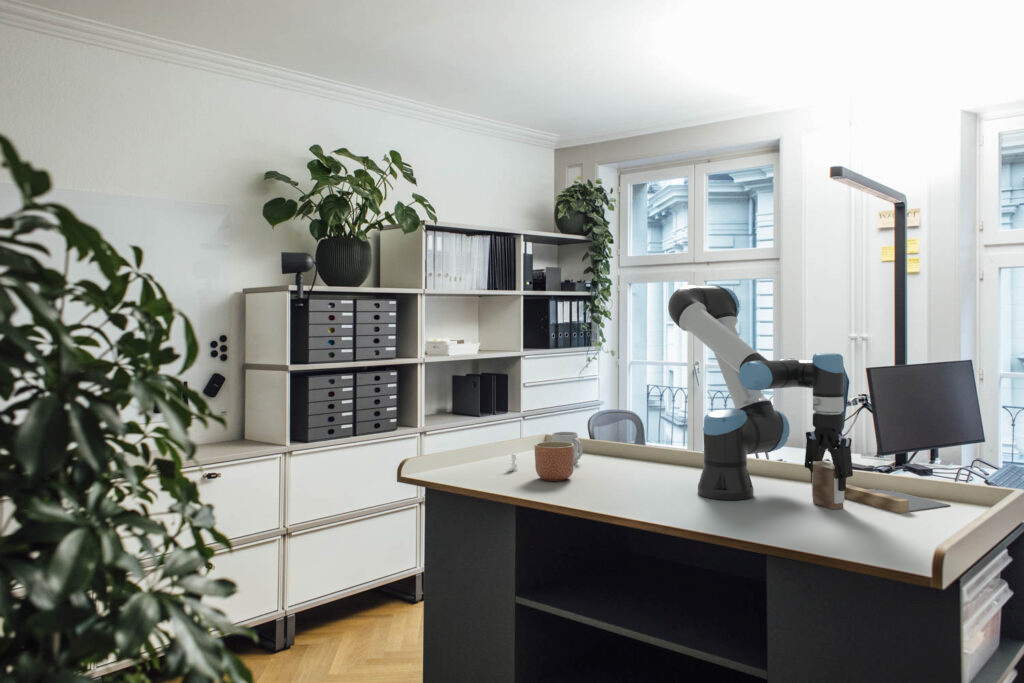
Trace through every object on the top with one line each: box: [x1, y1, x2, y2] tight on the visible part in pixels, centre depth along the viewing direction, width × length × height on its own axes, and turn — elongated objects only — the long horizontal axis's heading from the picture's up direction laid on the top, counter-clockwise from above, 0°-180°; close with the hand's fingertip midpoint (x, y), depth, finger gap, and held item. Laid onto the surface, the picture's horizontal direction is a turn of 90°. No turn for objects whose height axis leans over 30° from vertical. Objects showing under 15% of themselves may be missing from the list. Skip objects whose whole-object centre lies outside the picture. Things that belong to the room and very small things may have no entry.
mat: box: [867, 488, 951, 513], centre depth 204 cm, size 22×14×1 cm, turn 21°
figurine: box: [506, 453, 519, 473], centre depth 251 cm, size 8×8×6 cm
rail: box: [844, 483, 909, 514], centre depth 201 cm, size 22×3×3 cm, turn 21°
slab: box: [812, 459, 844, 510], centre depth 199 cm, size 7×4×11 cm, turn 21°
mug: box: [551, 431, 584, 465], centre depth 264 cm, size 11×10×10 cm
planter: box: [534, 440, 575, 482], centre depth 237 cm, size 12×12×11 cm
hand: (827, 499), depth 199 cm, fingers closed on slab, 7 cm apart
